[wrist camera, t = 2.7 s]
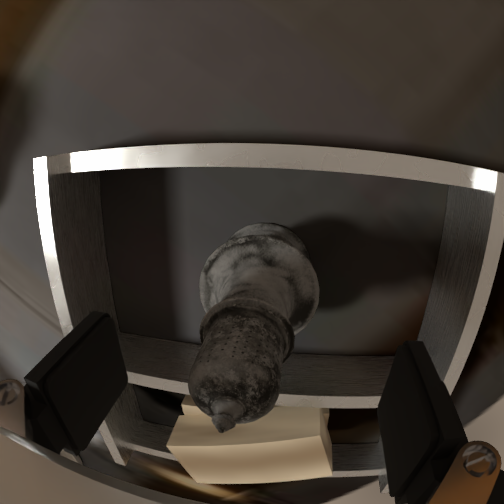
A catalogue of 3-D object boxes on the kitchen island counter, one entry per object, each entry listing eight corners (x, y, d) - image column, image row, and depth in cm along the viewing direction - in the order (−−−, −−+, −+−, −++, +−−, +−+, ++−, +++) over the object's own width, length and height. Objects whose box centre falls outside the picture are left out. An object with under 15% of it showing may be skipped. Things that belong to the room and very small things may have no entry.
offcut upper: (331, 443, 20) (332, 475, 17) (206, 454, 22) (197, 483, 19) (319, 399, 18) (320, 435, 16) (179, 415, 21) (166, 445, 18)
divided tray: (384, 448, 23) (392, 492, 18) (135, 424, 26) (115, 462, 21) (464, 164, 15) (512, 175, 10) (86, 150, 18) (33, 158, 13)
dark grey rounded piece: (207, 223, 18) (88, 343, 7) (311, 211, 17) (333, 338, 6) (225, 314, 20) (159, 474, 9) (319, 307, 19) (331, 482, 8)
